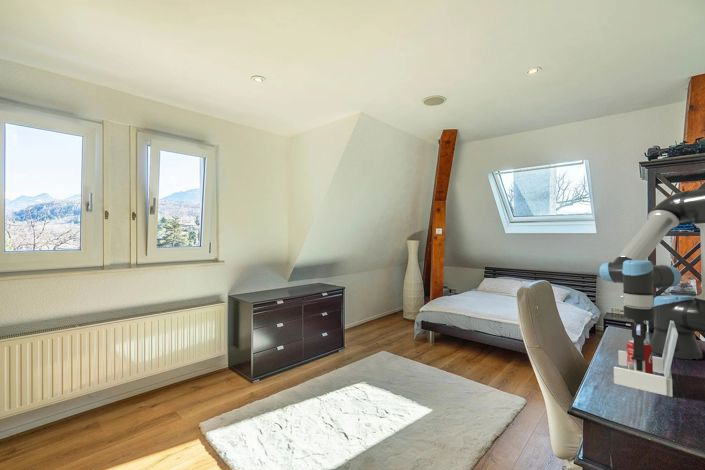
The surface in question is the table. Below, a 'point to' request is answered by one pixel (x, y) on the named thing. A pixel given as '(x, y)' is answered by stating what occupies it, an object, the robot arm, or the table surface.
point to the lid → (669, 348)
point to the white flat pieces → (643, 377)
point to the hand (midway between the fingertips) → (639, 376)
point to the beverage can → (646, 355)
